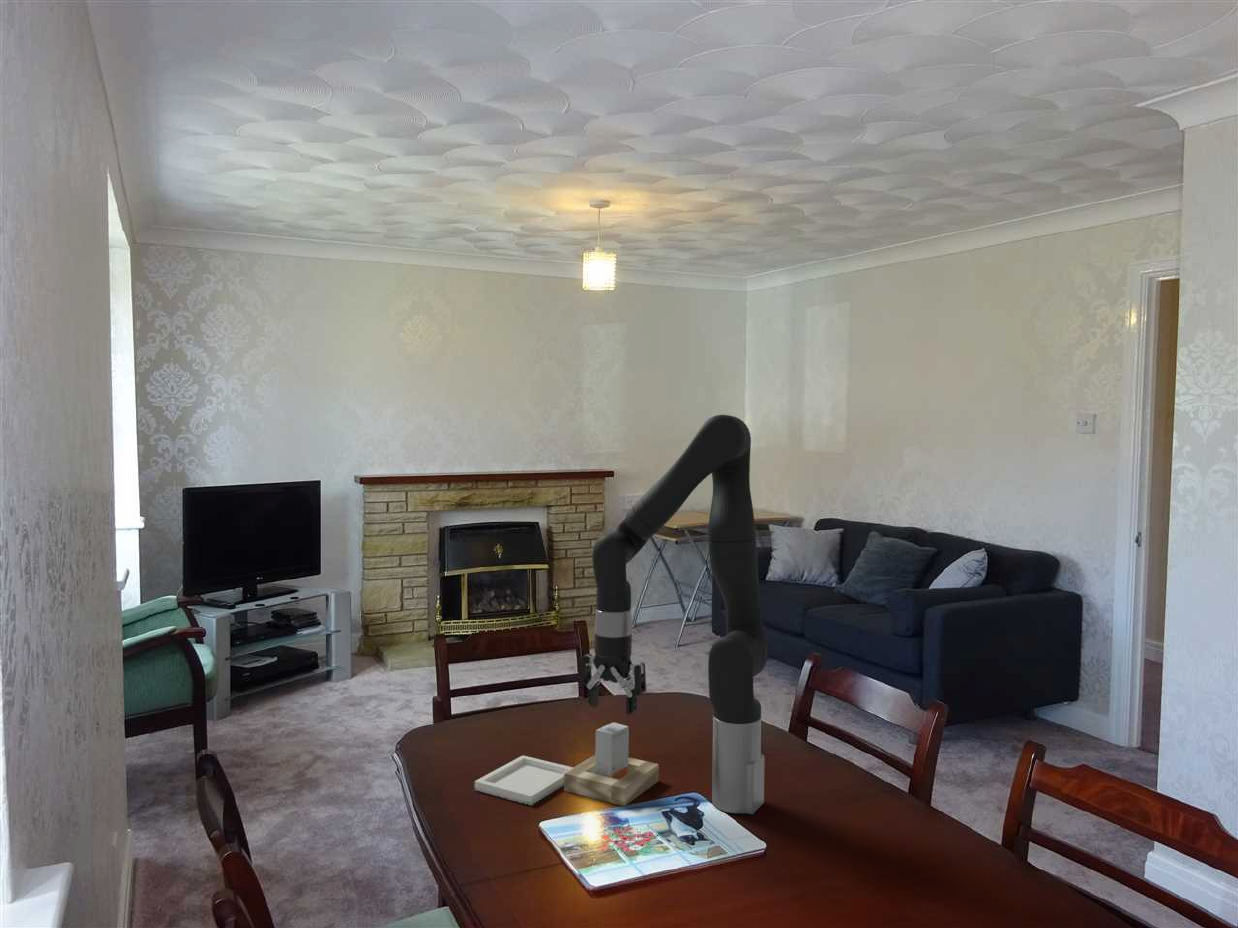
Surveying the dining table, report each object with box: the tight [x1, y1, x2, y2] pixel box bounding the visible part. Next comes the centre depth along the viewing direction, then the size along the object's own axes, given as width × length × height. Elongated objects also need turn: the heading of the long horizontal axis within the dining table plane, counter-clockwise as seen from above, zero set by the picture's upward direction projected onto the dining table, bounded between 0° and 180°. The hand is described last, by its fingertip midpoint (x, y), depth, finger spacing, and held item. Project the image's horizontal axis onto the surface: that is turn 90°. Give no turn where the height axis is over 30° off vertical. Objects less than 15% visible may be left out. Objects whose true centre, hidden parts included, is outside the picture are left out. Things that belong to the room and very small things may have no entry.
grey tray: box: [474, 755, 574, 806], centre depth 178 cm, size 14×16×2 cm
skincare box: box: [594, 722, 630, 780], centre depth 177 cm, size 6×4×12 cm
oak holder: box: [563, 754, 660, 807], centre depth 177 cm, size 14×14×4 cm
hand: (611, 710), depth 177 cm, fingers open, 8 cm apart
